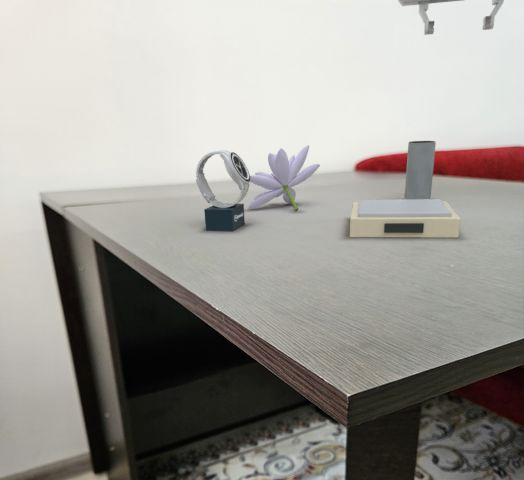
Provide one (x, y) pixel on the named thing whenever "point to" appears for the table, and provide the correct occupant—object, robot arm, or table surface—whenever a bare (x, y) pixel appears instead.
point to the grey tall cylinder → (419, 169)
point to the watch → (221, 213)
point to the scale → (404, 219)
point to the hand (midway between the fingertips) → (457, 31)
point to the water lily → (282, 177)
